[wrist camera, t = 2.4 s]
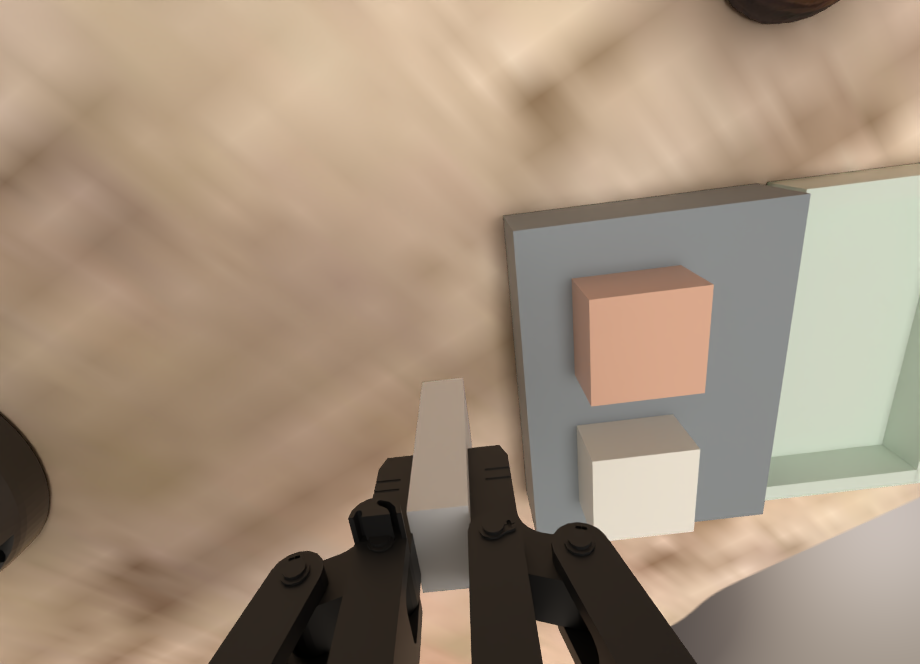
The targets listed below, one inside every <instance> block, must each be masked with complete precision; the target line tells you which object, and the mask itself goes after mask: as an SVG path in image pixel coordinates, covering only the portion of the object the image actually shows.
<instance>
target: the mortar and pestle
mask: <svg viewBox="0 0 920 664" xmlns="http://www.w3.org/2000/svg"><path fill="white" fill-rule="evenodd" d="M838 1H839V0H729V2H730V4H731V5H732V6H733V7H734V8H735V9H736V10H737V11H739V12H741V13H743V14H744V15H745V16H747V17H748V18H750V19H752V20H755V21H758V22H760V23H764V24H780V23H789V22H794V21H798V20H801V19H805V18H808V17H811V16H813V15H815V14H817V13H819V12H821V11H823V10H825V9H827V8H828V7H830V6H831V5H833V4H835V3H836V2H838Z"/></svg>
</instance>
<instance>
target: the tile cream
mask: <svg viewBox="0 0 920 664" xmlns="http://www.w3.org/2000/svg"><path fill="white" fill-rule="evenodd" d="M577 452H578V482H579V502H580V505H581V507H582V510H583V513H584V516H585V519H586V521H587V524H590V525H592V526H594V527H597V528H598V529H600V530H601V531H602V532H603V533H604V534H605V535H606V537H607V538H608V539H609V541H613V540H622V539H631V538H639V537H648V536H657V535H666V534H675V533H684V532H693V531H694V520H695V508H696V496H697V484H698V472H699V459H700V448H699V447H698V446H697V444H696V443H695V442H694V441H693V439H692V438H691V437H690V436H689V434H688V433H687V432H686V430H685V429H684V428H683V427H682V425H681V424H680V423H679V422H678V420H677V419H676V418H675V416H674V415H673V414H671V415H663V416H654V417H646V418H637V419H629V420H620V421H612V422H603V423H595V424H586V425H578V426H577Z"/></svg>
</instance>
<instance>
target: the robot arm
mask: <svg viewBox="0 0 920 664" xmlns="http://www.w3.org/2000/svg"><path fill="white" fill-rule="evenodd" d="M376 482H377V484H376V486H375V490H374V495H373V498H372V499H368V500H366V501H364V502H362V503H360V504H359V505H358V506H357V507H356V508H354V509H353V510H352V512H351V514H350V516H349V518H348V520H349V524H350V527H351V531H352V535H353V539H354V542H355V545H354V547H352V548H351V549H349V550H348V551H346V552H344V553H342V554H340V555H337V556H334V557H331V558H329V559H326V560H322V558H321V557H320V556H319V555H318V554H317V553H314V552H311V551H303V552H297V553H294V554H292V555H289V556H287V557H286V558H284V559H283V560H281V561H280V562H279V563H278V564H277V565H276V566H275V567H274V568H273V569H272V570H271V572H270V573H269V575H268V576H267V578H266V579H265V581H264V582H263V584H262V585H261V587H260V588H259V590H258V591H257V592H256V594H255V595H254V597H253V598H252V600H251V601H250V603H249V604H248V606H247V607H246V609H245V610H244V612H243V613H242V615H241V616H240V618H239V619H238V621H237V622H236V624H235V625H234V627H233V628H232V629H231V631H230V632H229V634H228V635H227V637H226V638H225V640H224V641H223V643H222V644H221V646H220V647H219V649H218V650H217V652H216V653H215V655H214V656H213V658H212V659H211V661H210V662H209V664H419V661H420V645H421V628H422V606H421V601H420V584H421V585H422V589H423V593H424V592H435V591H445V590H455V589H465V588H469V592H470V624H471V656H472V664H543V662H542V656H541V650H540V643H539V637H538V631H537V625H536V620H537V621H541V622H546V623H550V624H555V625H558V628H559V631H560V633H561V635H562V637H563V639H564V641H565V643H566V646H567V648H568V650H569V652H570V654H571V656H572V658H573V660H574V662H575V664H697V663H696V662H695V660H694V659H693V658H692V656H691V655H690V653H689V652H688V650H687V649H686V648H685V646H684V645H683V643H682V642H681V641H680V639H679V638H678V636H677V635H676V634H675V632H674V631H673V629H672V628H671V627H670V625H669V624H668V622H667V621H666V619H665V618H664V617H663V615H662V614H661V612H660V611H659V610H658V608H657V607H656V605H655V604H654V603H653V601H652V600H651V598H650V597H649V596H648V594H647V593H646V591H645V590H644V589H643V587H642V586H641V584H640V583H639V582H638V580H637V579H636V577H635V576H634V575H633V573H632V572H631V570H630V569H629V568H628V566H627V565H626V563H625V562H624V560H623V559H622V558H621V556H620V555H619V553H618V552H617V551H616V549H615V548H614V546H613V545H612V544H611V542H610V541H609V539H608V538H607V537H606V535H605V534H604V533H603V532H602V531H601V530H600V529H598V528H597V527H594V526H592V525H590V524H587V523H581V522H574V523H567V524H565V525H563V526H561V527H559V528H558V529H557V530H556V532H555V533H554V534H548V533H542V532H539V531H535V530H533V529H531V528H529V527H527V526H526V525H525V524H524V523H522V521H521V520H520V518H519V517H518V514H517V510H516V503H515V497H514V491H513V485H512V479H511V473H510V467H509V461H508V455H507V453H506V452H505V451H504V450H503V449H502V448H501V447H500V445H495V446H486V447H477V448H472V442H471V433H470V426H469V418H468V411H467V403H466V396H465V388H464V381H463V378H454V379H445V380H437V381H428V382H422V388H421V396H420V404H419V413H418V421H417V429H416V437H415V446H414V454H413V456H403V457H394V458H388V459H387V460H386V461H385V462H384V464H383V465H382V466H381V468H380V469H379V472H378V476H377V481H376ZM48 510H49V492H48V486H47V481H46V478H45V475H44V472H43V470H42V467H41V465H40V463H39V461H38V459H37V458H36V456H35V454H34V453H33V451H32V450H31V448H30V447H29V445H28V444H27V443H26V441H25V440H24V439H23V438H22V436H21V435H20V434H19V433H18V432H17V431H16V430H15V429H14V428H13V427H12V426H11V425H10V424H9V423H8V422H7V421H6V420H5V419H4V418H3V417H1V416H0V572H1V571H2V570H3V569H4V568H6V567H7V566H8V565H9V564H10V563H11V562H12V561H13V560H14V559H15V558H16V557H17V556H18V555H19V554H20V553H21V552H22V551H23V550H24V549H25V548H26V547H27V546H28V545H29V544H30V543H31V542H32V541H33V540H34V539H35V538H36V537H37V535H38V534H39V533H40V531H41V529H42V528H43V526H44V523H45V521H46V518H47V514H48Z"/></svg>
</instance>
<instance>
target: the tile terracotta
mask: <svg viewBox="0 0 920 664" xmlns="http://www.w3.org/2000/svg"><path fill="white" fill-rule="evenodd" d="M713 289H714V284H712V283H710V282H709V281H707V280H705V279H704V278H702V277H700V276H698V275H697V274H695V273H693V272H692V271H690V270H688V269H687V268H685V267H683V266H682V265H677V266H669V267H661V268H653V269H645V270H637V271H629V272H621V273H613V274H605V275H597V276H588V277H580V278H572V306H573V335H574V365H575V376H576V378H577V380H578V382H579V384H580V386H581V388H582V390H583V391H584V393H585V395H586V397H587V399H588V401H589V403H590V405H591V406H600V405H608V404H617V403H625V402H633V401H642V400H650V399H659V398H667V397H676V396H684V395H693V394H701V393H705V386H706V374H707V362H708V350H709V338H710V326H711V313H712V301H713Z"/></svg>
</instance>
